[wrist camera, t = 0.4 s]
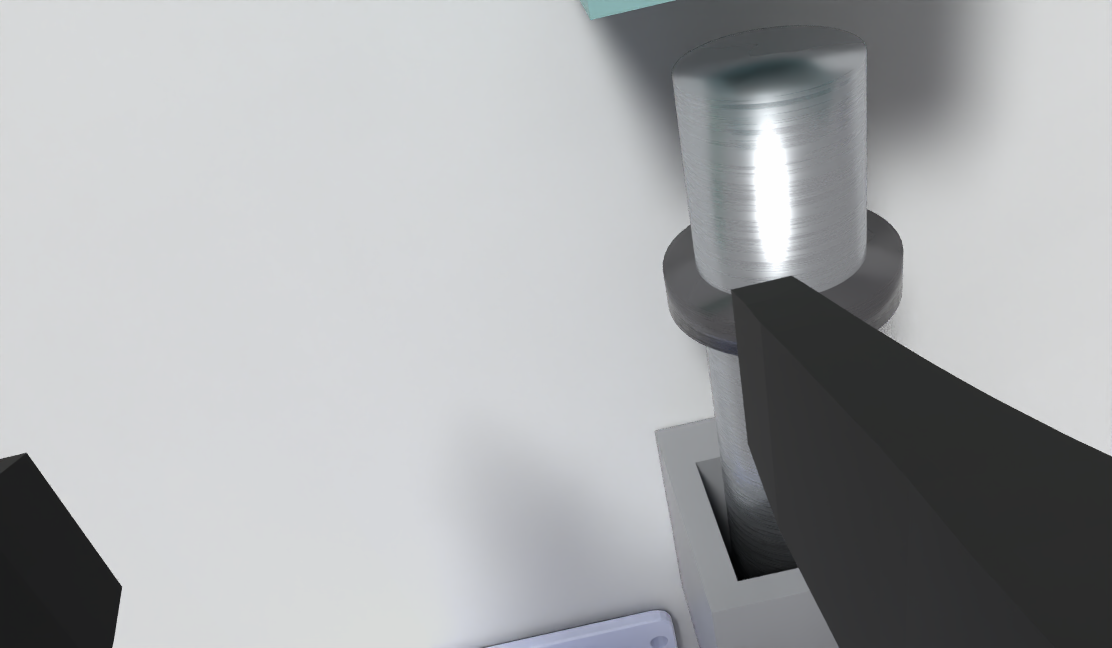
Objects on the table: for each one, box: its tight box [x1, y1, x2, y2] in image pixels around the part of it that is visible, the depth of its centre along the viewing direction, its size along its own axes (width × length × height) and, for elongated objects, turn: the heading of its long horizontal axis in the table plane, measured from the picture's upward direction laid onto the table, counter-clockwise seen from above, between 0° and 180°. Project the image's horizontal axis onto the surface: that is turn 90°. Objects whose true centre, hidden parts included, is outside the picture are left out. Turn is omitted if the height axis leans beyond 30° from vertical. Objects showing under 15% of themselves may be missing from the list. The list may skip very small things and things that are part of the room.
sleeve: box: [655, 417, 839, 648], centre depth 22 cm, size 6×5×6 cm
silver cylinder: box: [663, 26, 903, 581], centre depth 18 cm, size 15×4×4 cm, turn 11°
